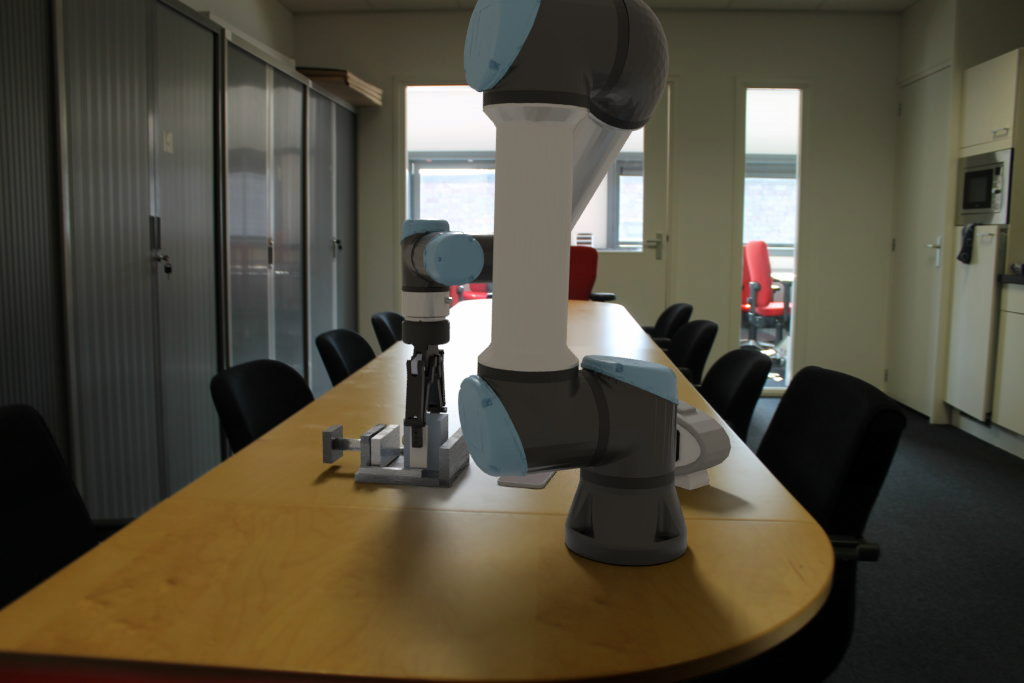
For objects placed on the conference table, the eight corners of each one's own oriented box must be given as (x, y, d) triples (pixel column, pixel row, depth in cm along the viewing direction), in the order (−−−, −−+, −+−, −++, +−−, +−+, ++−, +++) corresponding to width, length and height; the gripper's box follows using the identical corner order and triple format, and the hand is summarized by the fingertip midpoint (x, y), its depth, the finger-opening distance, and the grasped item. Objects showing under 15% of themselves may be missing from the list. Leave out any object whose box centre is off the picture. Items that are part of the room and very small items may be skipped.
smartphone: (563, 460, 140) (542, 485, 126) (563, 465, 140) (542, 490, 126) (520, 457, 142) (495, 480, 128) (520, 462, 142) (495, 486, 128)
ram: (380, 471, 130) (380, 438, 129) (316, 467, 131) (316, 435, 131) (399, 454, 139) (399, 424, 139) (340, 451, 141) (339, 421, 140)
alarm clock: (591, 462, 140) (593, 388, 139) (616, 456, 144) (618, 384, 143) (704, 496, 123) (707, 411, 121) (729, 488, 127) (733, 406, 125)
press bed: (449, 487, 126) (449, 444, 125) (354, 481, 128) (354, 439, 128) (469, 462, 140) (469, 424, 139) (383, 457, 142) (383, 420, 141)
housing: (440, 470, 131) (440, 420, 129) (398, 468, 132) (398, 418, 131) (448, 462, 135) (448, 413, 134) (408, 459, 137) (407, 412, 135)
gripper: (431, 326, 120) (432, 479, 123) (464, 312, 140) (464, 444, 143) (381, 324, 121) (383, 476, 124) (421, 311, 141) (421, 442, 144)
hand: (426, 459), depth 133 cm, fingers open, 8 cm apart
